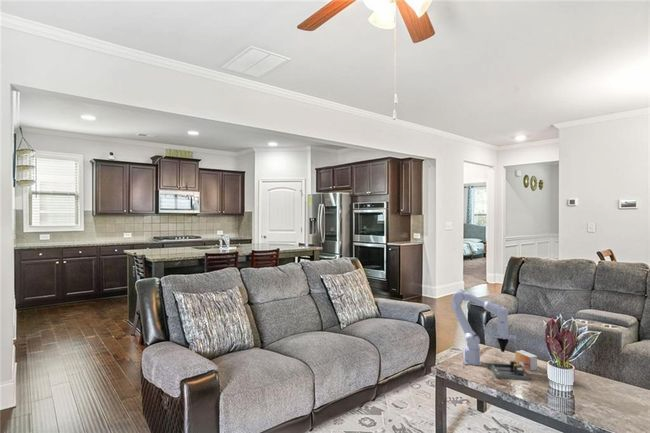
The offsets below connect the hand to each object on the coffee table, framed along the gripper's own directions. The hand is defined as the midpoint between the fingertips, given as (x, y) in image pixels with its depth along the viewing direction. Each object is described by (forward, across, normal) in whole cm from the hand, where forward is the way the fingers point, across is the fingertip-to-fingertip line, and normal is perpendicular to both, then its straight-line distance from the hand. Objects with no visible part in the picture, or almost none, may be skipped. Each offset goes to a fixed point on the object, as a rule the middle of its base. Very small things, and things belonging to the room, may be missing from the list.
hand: (502, 351), depth 219 cm
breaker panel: (+10, +2, -6) cm, 12 cm away
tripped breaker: (+9, +5, -6) cm, 12 cm away
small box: (+6, +11, +9) cm, 15 cm away
